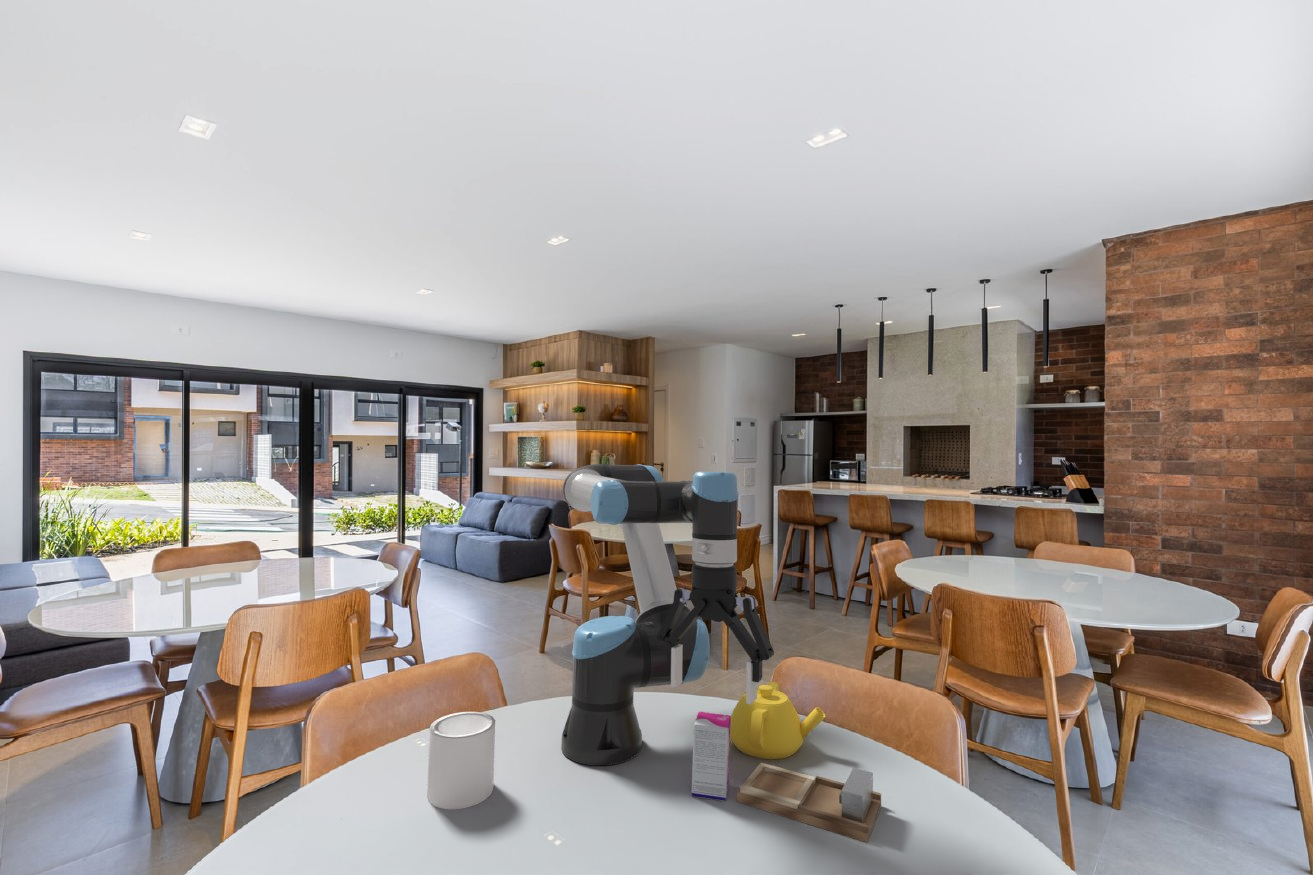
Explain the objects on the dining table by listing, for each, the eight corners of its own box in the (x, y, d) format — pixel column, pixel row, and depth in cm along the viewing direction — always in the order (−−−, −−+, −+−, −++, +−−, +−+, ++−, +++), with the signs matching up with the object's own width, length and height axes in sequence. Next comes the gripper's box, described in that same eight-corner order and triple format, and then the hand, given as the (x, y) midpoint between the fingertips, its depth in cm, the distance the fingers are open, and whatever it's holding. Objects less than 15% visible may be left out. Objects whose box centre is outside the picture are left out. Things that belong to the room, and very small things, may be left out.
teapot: (820, 781, 103) (821, 715, 104) (716, 761, 110) (717, 699, 110) (829, 733, 122) (829, 677, 123) (740, 718, 128) (740, 666, 129)
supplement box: (727, 801, 96) (728, 728, 97) (690, 797, 98) (691, 724, 98) (730, 783, 102) (731, 714, 103) (695, 779, 103) (696, 710, 104)
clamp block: (837, 816, 90) (837, 789, 90) (849, 792, 97) (849, 766, 97) (862, 824, 88) (862, 796, 88) (872, 798, 95) (872, 772, 95)
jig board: (736, 801, 96) (736, 788, 97) (761, 772, 106) (761, 760, 106) (867, 842, 86) (867, 828, 87) (881, 805, 96) (881, 792, 96)
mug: (427, 771, 104) (429, 708, 105) (488, 762, 108) (490, 701, 108) (426, 814, 91) (429, 742, 92) (496, 802, 95) (498, 733, 95)
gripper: (639, 559, 104) (636, 685, 103) (779, 574, 92) (778, 717, 91) (660, 554, 111) (658, 672, 110) (793, 567, 99) (793, 700, 97)
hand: (712, 693), depth 100 cm, fingers open, 13 cm apart
